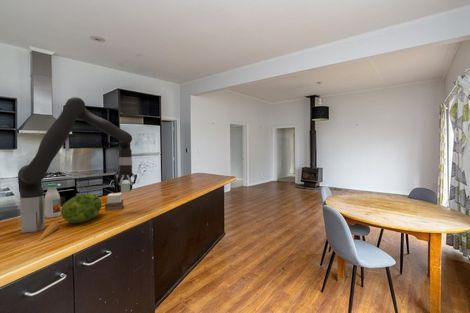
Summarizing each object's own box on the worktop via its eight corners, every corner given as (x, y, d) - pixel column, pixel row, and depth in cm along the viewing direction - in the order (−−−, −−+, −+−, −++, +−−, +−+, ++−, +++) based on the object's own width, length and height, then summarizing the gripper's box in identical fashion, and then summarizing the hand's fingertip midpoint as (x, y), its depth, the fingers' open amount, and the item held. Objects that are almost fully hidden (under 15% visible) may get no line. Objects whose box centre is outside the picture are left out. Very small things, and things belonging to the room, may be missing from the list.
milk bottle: (47, 219, 140) (46, 185, 139) (43, 216, 145) (42, 184, 144) (62, 216, 146) (61, 183, 145) (58, 213, 151) (57, 182, 150)
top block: (120, 202, 162) (120, 195, 162) (107, 203, 159) (107, 195, 159) (121, 199, 170) (121, 192, 169) (109, 200, 167) (109, 193, 167)
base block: (121, 209, 161) (121, 202, 161) (105, 211, 158) (105, 203, 158) (123, 206, 171) (123, 199, 171) (107, 207, 168) (107, 200, 167)
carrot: (53, 230, 124) (48, 222, 123) (62, 226, 125) (58, 219, 124) (33, 249, 105) (28, 241, 104) (44, 244, 106) (39, 236, 105)
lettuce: (110, 213, 151) (109, 189, 151) (83, 227, 125) (83, 198, 124) (87, 213, 151) (86, 189, 151) (55, 227, 125) (54, 198, 124)
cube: (129, 192, 150) (129, 184, 150) (121, 192, 148) (121, 184, 148) (130, 190, 155) (130, 183, 155) (122, 191, 153) (122, 183, 153)
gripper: (112, 164, 145) (112, 192, 146) (137, 164, 150) (137, 191, 150) (114, 164, 152) (114, 190, 153) (138, 163, 157) (138, 189, 158)
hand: (125, 190), depth 152 cm, fingers closed on cube, 5 cm apart
